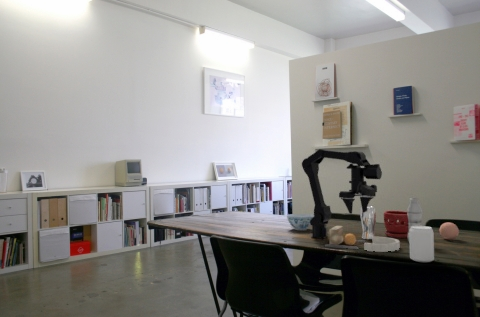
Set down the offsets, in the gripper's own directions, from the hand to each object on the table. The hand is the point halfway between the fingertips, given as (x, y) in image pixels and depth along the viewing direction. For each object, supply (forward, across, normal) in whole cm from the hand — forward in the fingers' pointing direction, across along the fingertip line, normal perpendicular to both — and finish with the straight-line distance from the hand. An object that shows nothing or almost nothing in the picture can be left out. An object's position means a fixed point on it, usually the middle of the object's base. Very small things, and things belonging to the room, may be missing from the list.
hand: (357, 212), depth 181 cm
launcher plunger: (+13, -11, +2) cm, 18 cm away
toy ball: (+13, +38, -22) cm, 45 cm away
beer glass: (+14, +11, +3) cm, 18 cm away
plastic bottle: (+13, +17, -18) cm, 28 cm away
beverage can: (+13, -9, -38) cm, 41 cm away
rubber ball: (+11, -8, -3) cm, 14 cm away
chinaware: (+14, +4, +43) cm, 46 cm away
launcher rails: (+13, -9, -1) cm, 16 cm away
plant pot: (+13, +26, -3) cm, 30 cm away
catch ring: (+13, -2, -15) cm, 20 cm away
